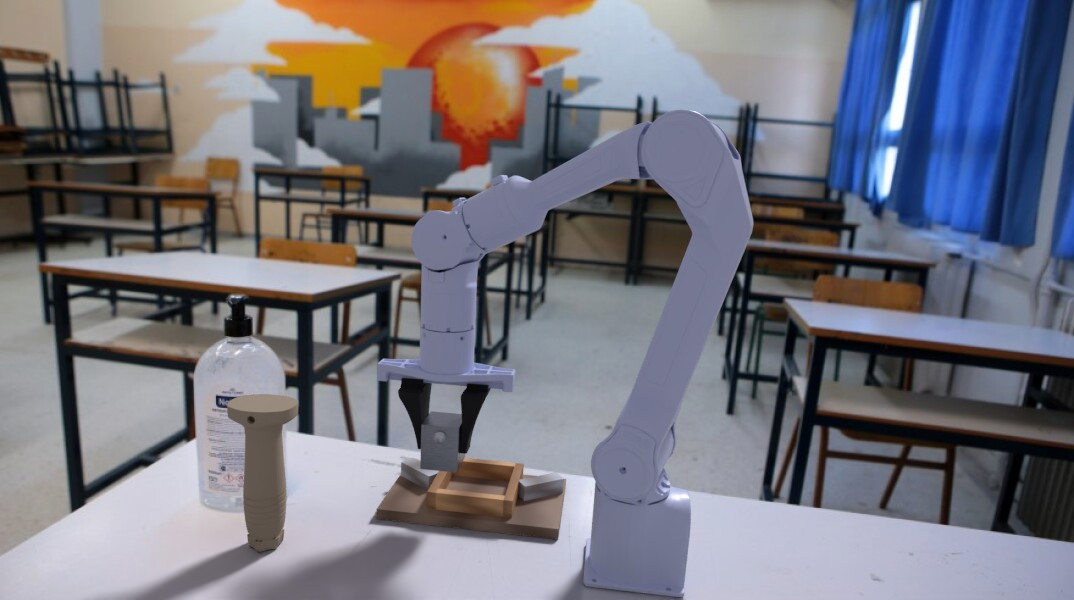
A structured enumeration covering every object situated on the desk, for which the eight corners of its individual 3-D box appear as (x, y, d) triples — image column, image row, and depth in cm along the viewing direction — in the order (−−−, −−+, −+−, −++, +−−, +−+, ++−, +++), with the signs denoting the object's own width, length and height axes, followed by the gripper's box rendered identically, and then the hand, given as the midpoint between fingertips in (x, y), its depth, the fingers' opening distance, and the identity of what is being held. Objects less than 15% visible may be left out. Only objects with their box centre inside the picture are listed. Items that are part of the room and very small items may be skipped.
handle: (286, 561, 65) (284, 414, 63) (222, 554, 66) (217, 408, 63) (307, 534, 70) (306, 397, 67) (247, 528, 71) (243, 392, 68)
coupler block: (465, 455, 76) (467, 413, 75) (456, 474, 71) (458, 429, 70) (430, 452, 76) (432, 410, 75) (419, 470, 71) (420, 426, 70)
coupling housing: (565, 487, 84) (567, 463, 83) (558, 539, 72) (560, 511, 72) (408, 471, 86) (409, 447, 85) (376, 518, 74) (376, 492, 73)
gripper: (521, 323, 74) (515, 439, 77) (392, 313, 75) (390, 428, 78) (512, 338, 67) (506, 466, 70) (370, 327, 68) (369, 453, 71)
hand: (444, 447), depth 73 cm, fingers closed on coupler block, 4 cm apart
